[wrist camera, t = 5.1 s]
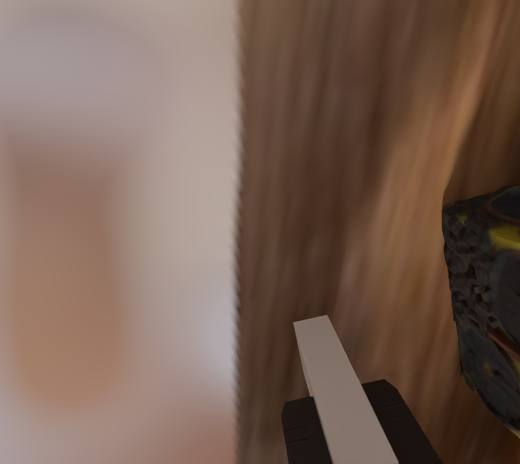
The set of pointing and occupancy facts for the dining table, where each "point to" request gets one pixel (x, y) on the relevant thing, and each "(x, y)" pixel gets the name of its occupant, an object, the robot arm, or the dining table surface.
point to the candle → (487, 296)
